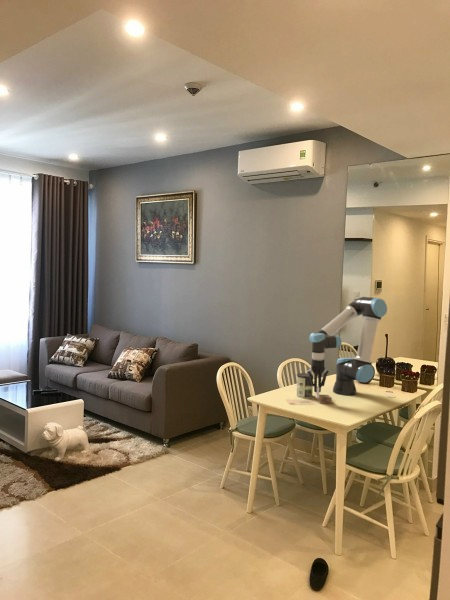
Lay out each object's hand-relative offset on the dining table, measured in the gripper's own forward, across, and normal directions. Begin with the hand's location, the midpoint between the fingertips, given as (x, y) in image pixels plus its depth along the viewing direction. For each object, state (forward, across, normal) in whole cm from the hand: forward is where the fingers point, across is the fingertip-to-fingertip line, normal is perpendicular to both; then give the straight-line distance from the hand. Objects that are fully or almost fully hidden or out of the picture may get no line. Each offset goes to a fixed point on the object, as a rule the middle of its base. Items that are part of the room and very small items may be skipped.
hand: (317, 397), depth 294 cm
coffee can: (+3, +4, -14) cm, 15 cm away
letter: (+3, +10, 0) cm, 11 cm away
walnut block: (+3, -4, 0) cm, 5 cm away
